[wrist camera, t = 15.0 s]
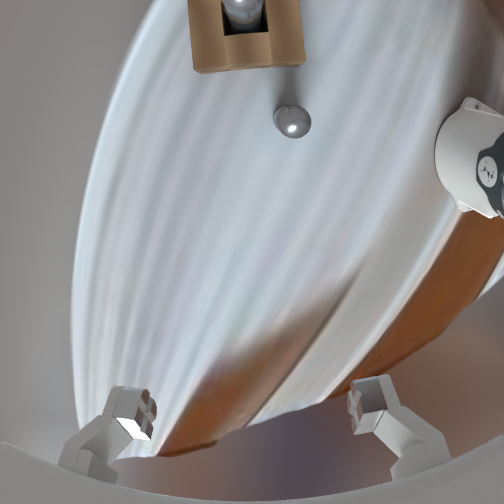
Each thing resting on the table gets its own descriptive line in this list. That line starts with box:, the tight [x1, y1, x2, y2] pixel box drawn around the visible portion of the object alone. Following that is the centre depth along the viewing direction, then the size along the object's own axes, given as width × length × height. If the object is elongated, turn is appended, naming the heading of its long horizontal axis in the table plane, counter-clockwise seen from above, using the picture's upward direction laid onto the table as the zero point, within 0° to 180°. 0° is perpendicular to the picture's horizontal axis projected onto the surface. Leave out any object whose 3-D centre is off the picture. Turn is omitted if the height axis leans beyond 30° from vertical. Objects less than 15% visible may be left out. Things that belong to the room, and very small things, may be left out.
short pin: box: [273, 106, 311, 138], centre depth 31 cm, size 4×4×7 cm
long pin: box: [223, 0, 262, 35], centre depth 22 cm, size 4×4×14 cm
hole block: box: [188, 0, 305, 74], centre depth 25 cm, size 12×12×5 cm
